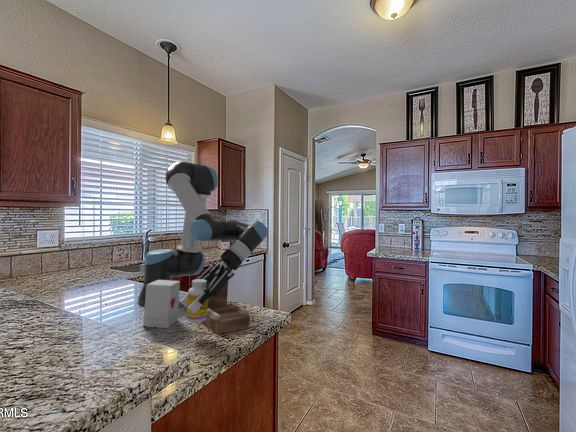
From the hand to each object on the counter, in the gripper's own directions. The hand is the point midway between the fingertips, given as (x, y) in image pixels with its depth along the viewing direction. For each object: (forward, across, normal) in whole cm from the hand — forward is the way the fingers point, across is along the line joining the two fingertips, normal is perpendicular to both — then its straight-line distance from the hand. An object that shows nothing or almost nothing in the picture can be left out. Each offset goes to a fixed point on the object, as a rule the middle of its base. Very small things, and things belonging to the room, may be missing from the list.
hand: (186, 307), depth 94 cm
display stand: (-5, +7, -19) cm, 21 cm away
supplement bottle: (+1, 0, -6) cm, 6 cm away
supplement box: (+9, +17, -6) cm, 20 cm away
